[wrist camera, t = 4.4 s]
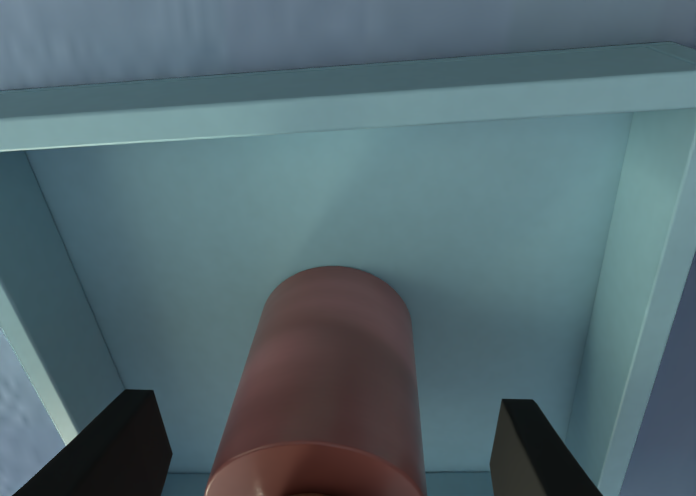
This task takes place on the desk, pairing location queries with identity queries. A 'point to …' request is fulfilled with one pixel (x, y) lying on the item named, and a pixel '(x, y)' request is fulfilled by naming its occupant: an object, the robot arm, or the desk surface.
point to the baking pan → (360, 238)
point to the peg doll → (326, 395)
